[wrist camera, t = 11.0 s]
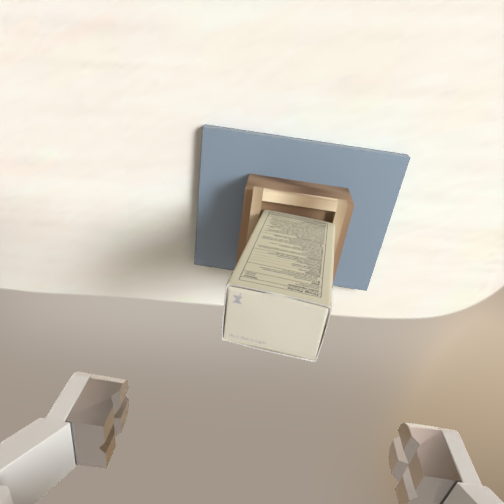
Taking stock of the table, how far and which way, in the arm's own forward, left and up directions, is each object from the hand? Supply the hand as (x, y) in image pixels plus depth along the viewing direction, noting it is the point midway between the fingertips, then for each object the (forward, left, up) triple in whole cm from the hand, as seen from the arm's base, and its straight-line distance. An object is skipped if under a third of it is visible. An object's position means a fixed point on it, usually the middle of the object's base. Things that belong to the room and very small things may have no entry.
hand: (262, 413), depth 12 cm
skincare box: (+2, -5, -22) cm, 23 cm away
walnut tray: (+2, -6, -27) cm, 27 cm away
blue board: (+2, -5, -28) cm, 28 cm away
